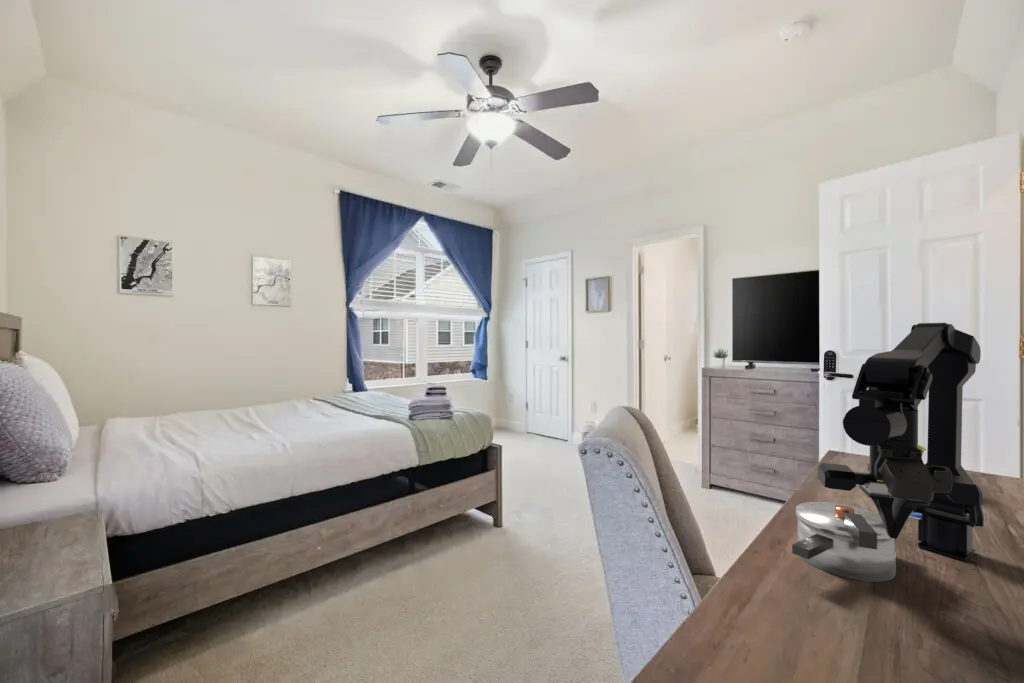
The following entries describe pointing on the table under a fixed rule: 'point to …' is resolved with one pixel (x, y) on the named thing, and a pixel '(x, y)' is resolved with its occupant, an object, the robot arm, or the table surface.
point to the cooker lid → (844, 522)
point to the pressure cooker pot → (845, 555)
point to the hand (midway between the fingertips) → (892, 537)
